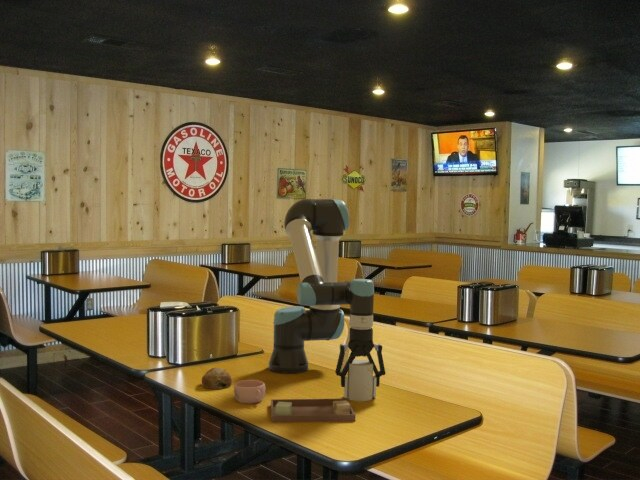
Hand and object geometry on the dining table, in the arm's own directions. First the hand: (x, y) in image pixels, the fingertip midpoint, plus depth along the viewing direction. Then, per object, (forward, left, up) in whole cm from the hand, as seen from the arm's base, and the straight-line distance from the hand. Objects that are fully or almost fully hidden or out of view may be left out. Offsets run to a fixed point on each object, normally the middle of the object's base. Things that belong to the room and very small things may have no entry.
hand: (359, 396), depth 216 cm
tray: (+15, -17, -1) cm, 23 cm away
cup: (0, 0, -1) cm, 1 cm away
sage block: (+19, -26, 0) cm, 32 cm away
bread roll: (-18, -47, -1) cm, 51 cm away
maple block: (+18, -9, 0) cm, 20 cm away
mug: (+2, -35, -1) cm, 35 cm away
